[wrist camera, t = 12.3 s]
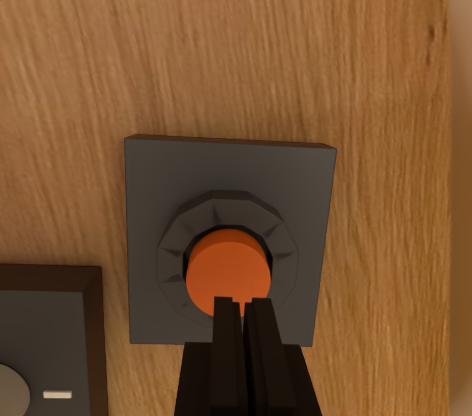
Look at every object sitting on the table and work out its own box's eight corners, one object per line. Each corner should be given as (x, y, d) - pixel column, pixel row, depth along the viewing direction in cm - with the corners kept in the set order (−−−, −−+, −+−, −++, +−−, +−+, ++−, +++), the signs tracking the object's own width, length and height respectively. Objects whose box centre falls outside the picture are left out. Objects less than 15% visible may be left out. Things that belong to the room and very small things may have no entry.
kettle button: (189, 226, 17) (186, 240, 15) (268, 229, 17) (274, 243, 15) (188, 298, 18) (185, 318, 16) (262, 299, 18) (267, 320, 16)
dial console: (-84, 260, 20) (-137, 288, 17) (101, 266, 21) (81, 293, 18) (-50, 433, 24) (-90, 482, 20) (109, 434, 24) (93, 482, 21)
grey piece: (134, 134, 19) (112, 141, 15) (324, 143, 20) (350, 153, 16) (138, 321, 22) (121, 367, 18) (303, 324, 23) (320, 369, 19)
